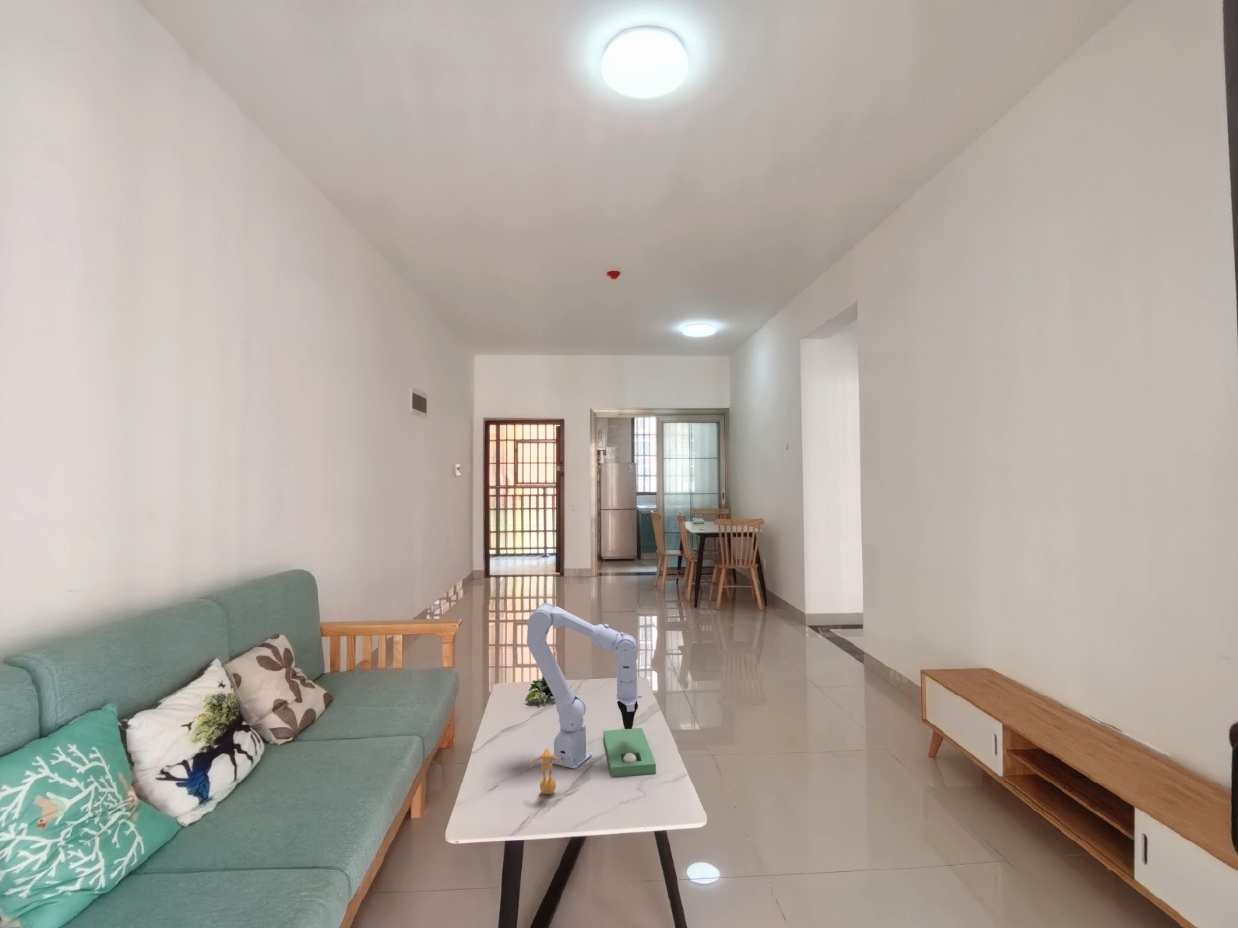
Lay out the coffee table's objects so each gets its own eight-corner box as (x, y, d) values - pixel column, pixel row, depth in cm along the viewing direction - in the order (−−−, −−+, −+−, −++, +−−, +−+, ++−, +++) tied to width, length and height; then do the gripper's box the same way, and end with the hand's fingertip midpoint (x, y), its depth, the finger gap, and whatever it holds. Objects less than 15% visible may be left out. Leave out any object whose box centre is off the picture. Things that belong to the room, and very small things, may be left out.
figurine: (564, 788, 152) (563, 740, 152) (564, 800, 146) (562, 751, 146) (532, 790, 151) (531, 742, 152) (530, 802, 145) (529, 753, 146)
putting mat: (656, 773, 159) (655, 763, 159) (611, 776, 157) (611, 767, 157) (642, 736, 182) (642, 727, 183) (603, 738, 181) (603, 730, 181)
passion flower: (548, 713, 217) (566, 684, 219) (545, 719, 206) (564, 688, 209) (522, 695, 218) (541, 667, 221) (518, 700, 207) (538, 670, 210)
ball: (628, 772, 161) (629, 765, 159) (620, 761, 164) (621, 754, 162) (638, 765, 163) (639, 758, 161) (630, 754, 166) (631, 747, 164)
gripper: (645, 687, 161) (646, 737, 161) (637, 670, 176) (638, 717, 175) (619, 688, 161) (620, 739, 160) (613, 672, 175) (614, 718, 175)
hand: (628, 728), depth 168 cm, fingers closed
